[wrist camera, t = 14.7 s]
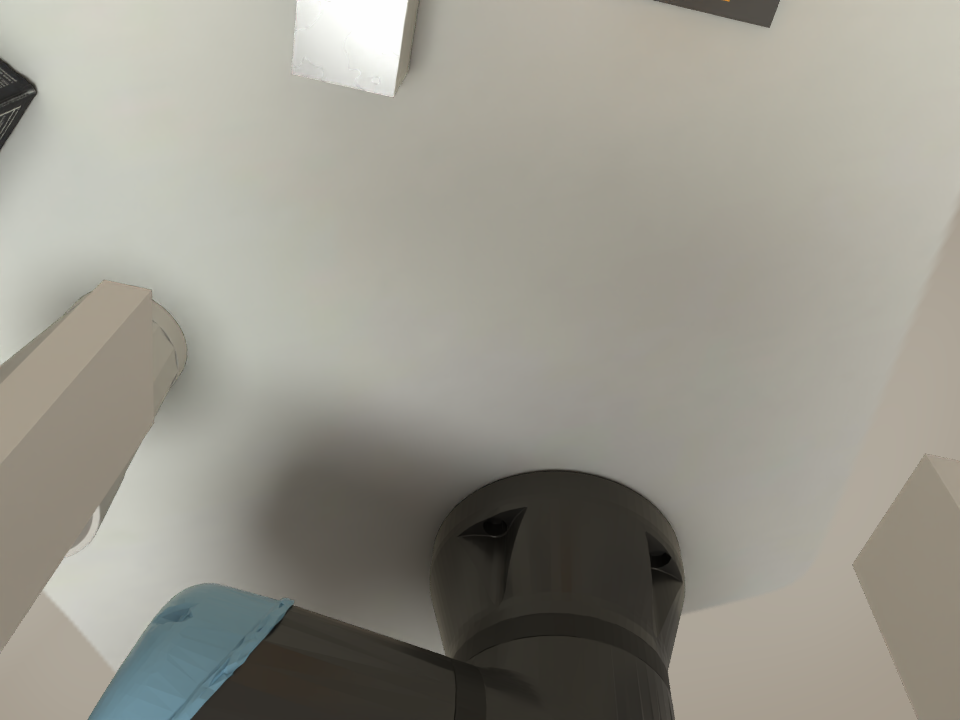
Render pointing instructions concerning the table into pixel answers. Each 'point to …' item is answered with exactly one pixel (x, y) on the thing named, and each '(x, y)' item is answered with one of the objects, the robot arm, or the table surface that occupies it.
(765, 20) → the pad
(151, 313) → the robot arm
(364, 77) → the grey rectangular bar
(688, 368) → the table surface
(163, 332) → the cup
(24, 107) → the small box
